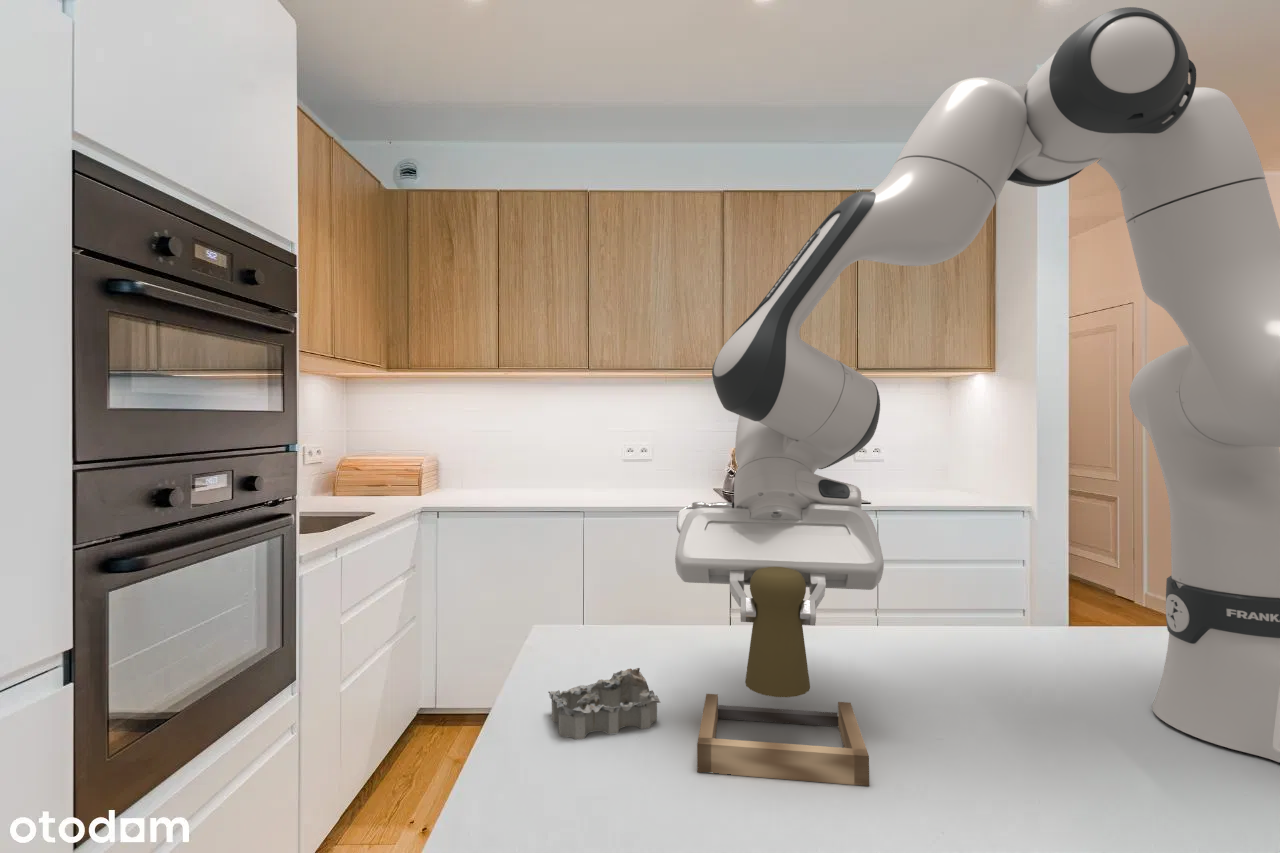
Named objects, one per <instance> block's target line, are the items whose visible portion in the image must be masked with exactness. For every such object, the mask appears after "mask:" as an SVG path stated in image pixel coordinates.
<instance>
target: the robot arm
mask: <svg viewBox="0 0 1280 853" xmlns="http://www.w3.org/2000/svg"><path fill="white" fill-rule="evenodd" d="M1189 81H1190V83H1189ZM1196 85H1197V68H1196V66H1195V64H1194V62H1193V61H1192V59H1191V60H1190V58H1189V54H1188V51H1187V47H1186V45H1185V43H1184V41H1183V39H1182V37H1181V35H1179V33H1178V32H1177V30H1176V29H1175V28H1174V27H1173V26H1172V25H1171V24H1170V23H1169V21H1167V20H1166V19H1165V18H1163V17H1162V16H1161V15H1160V14H1157V12H1156V13H1155V12H1154V11H1151V10H1149V9H1146V8H1142V7H1137V6H1135V7H1134V6H1132V7H1131V6H1130V7H1119V8H1115V9H1112V10H1109V11H1107V12H1105V13H1103V14H1101V15H1099V16H1096V17H1095V18H1093V19H1092V20H1090V21H1088V22H1086V23H1085V24H1084V25H1082V26H1081V27H1079V28H1078V29H1077V30H1075V31H1074V32H1073V33H1071V35H1069V36H1068V37H1067V38H1066V39H1065V40H1064V41H1063V42H1062V43H1061V45H1060V46H1059V47H1058V49H1057V50H1056V51H1055V53H1053V54H1052V55H1051V56H1050V57H1049V58H1048V59H1047V60H1046V61H1044V63H1043V64H1042V65H1041V66H1040V67H1039V68H1037V70H1036V71H1035V72H1034V73H1033V75H1032V76H1031V77H1030V78H1029V80H1028V81H1027V82H1026V83H1025V84H1021V85H1017V86H1015V85H1014V86H1013V85H1009V84H1007V83H1006V82H1004V81H1001V80H999V79H995V78H991V77H984V76H982V77H979V76H978V77H970V78H969V77H968V78H965V79H962V80H960V81H959V80H958V81H957V82H955V83H953V84H952V85H951V86H949V87H948V88H946V90H944V92H942V93H941V94H940V96H939V97H938V98H937V99H936V101H935V102H934V103H933V104H932V106H931V107H930V108H929V109H928V111H927V112H926V113H925V115H924V116H923V118H922V119H921V120H920V122H919V123H918V125H917V126H916V128H915V129H914V131H913V132H912V133H911V135H910V136H909V138H908V140H907V141H906V143H905V145H904V146H903V148H902V150H901V151H900V153H899V155H898V156H897V158H896V160H895V162H894V164H893V166H892V168H891V170H890V171H889V173H888V174H887V175H886V177H885V178H884V179H883V180H882V181H881V182H880V183H879V184H878V185H877V186H876V187H875V188H873V189H872V190H871V191H857V192H854V193H852V194H851V195H849V196H848V197H846V198H845V199H843V200H842V201H841V202H840V203H839V204H838V205H837V206H836V207H835V208H833V210H832V211H831V212H830V213H829V214H828V215H827V216H826V217H825V219H824V220H823V221H822V222H821V223H820V225H819V226H818V227H817V228H816V229H815V231H813V233H812V235H811V236H810V237H809V239H807V241H806V242H805V244H804V245H803V246H802V248H801V249H800V250H799V251H798V253H797V254H796V256H795V257H794V258H793V259H792V261H791V262H790V264H789V265H788V266H786V267H787V268H786V269H785V270H784V272H783V273H782V274H781V275H780V276H779V278H778V279H777V281H776V282H775V284H774V285H773V286H772V287H771V289H770V290H769V291H768V292H767V294H766V295H765V297H763V299H762V301H761V302H760V303H759V304H758V306H757V307H756V308H755V309H754V311H753V312H752V313H751V314H750V315H749V316H748V317H747V318H746V319H745V320H744V321H743V323H742V324H740V326H739V327H738V328H737V329H736V330H735V331H734V332H733V333H732V334H731V336H730V337H729V338H728V340H726V342H725V344H723V346H722V348H721V349H720V351H719V353H718V354H717V356H716V358H715V360H714V363H713V366H712V370H711V376H712V380H713V381H712V382H713V385H714V388H715V391H716V394H717V398H718V399H719V401H720V403H721V406H723V408H724V409H725V410H726V411H728V412H731V413H732V414H733V413H734V414H735V415H737V416H738V420H737V426H736V434H735V447H734V452H735V453H734V456H735V461H736V464H737V469H736V472H735V474H734V480H733V483H734V484H733V502H727V501H724V502H722V501H721V502H719V501H718V502H704V501H694V502H692V503H691V505H687V506H685V507H683V508H682V509H680V510H679V511H678V514H677V518H676V531H677V533H678V534H679V535H678V539H677V544H676V547H675V548H676V550H675V557H674V558H675V559H674V562H675V570H676V571H675V572H676V574H677V575H678V576H679V578H680V579H681V580H682V582H684V583H687V584H688V583H689V584H691V583H692V584H714V585H715V584H719V585H729V593H730V594H731V596H732V597H733V599H734V601H735V603H737V605H738V608H740V622H741V623H753V622H754V620H755V619H756V602H755V601H754V599H753V598H752V597H748V595H747V594H746V592H745V586H750V580H751V577H752V575H753V574H754V572H755V571H757V570H758V569H761V568H766V567H785V568H789V569H793V570H796V571H798V572H799V573H800V574H801V575H802V576H803V578H804V580H805V584H806V588H809V589H808V590H809V595H810V596H809V598H808V599H807V600H806V599H805V600H804V599H803V601H802V602H801V604H800V605H799V607H800V621H801V624H802V626H813V627H814V626H816V622H817V609H818V607H819V605H820V604H821V602H822V600H823V599H824V597H825V594H826V593H825V592H826V589H837V590H838V589H839V590H840V589H841V590H864V591H865V590H867V591H871V590H874V589H875V588H876V587H877V586H878V584H880V582H881V580H882V577H883V573H884V567H885V566H884V556H883V552H882V546H881V543H880V540H879V536H878V533H877V529H876V527H875V525H874V522H873V520H872V518H871V516H870V515H869V514H868V513H867V512H866V511H865V510H864V509H862V503H863V502H862V492H861V489H860V487H858V486H857V485H854V484H851V483H847V482H843V481H839V480H836V479H831V478H828V477H825V476H822V475H819V474H816V471H817V470H823V469H826V468H829V467H832V466H833V465H836V464H837V463H840V462H841V461H843V460H845V459H847V458H850V457H851V456H853V455H855V454H856V453H858V452H859V451H861V450H862V449H863V448H865V447H866V445H867V444H868V443H870V441H871V440H872V439H873V437H874V435H875V432H876V430H877V428H878V423H879V419H880V411H881V400H880V399H881V398H880V392H879V390H878V386H877V385H876V383H875V382H874V381H873V380H871V379H870V378H868V377H867V376H865V375H863V374H862V373H860V372H859V371H857V370H855V369H854V368H852V367H850V366H848V365H847V364H845V363H843V362H842V361H840V360H838V359H834V358H833V357H831V356H830V355H827V353H824V352H823V351H821V350H819V349H817V348H815V347H814V346H813V345H810V344H809V343H807V342H806V341H804V340H803V339H802V338H801V337H800V336H801V335H800V330H801V327H802V325H803V324H804V323H805V321H806V320H807V319H808V317H809V316H810V315H811V313H812V312H813V311H814V310H815V308H816V306H817V305H818V304H819V303H820V302H821V300H822V298H823V297H824V296H825V294H827V292H828V290H829V289H830V288H831V286H832V285H833V284H834V283H835V281H836V280H837V278H838V277H840V276H841V275H840V274H842V273H843V271H844V270H845V269H846V268H848V267H849V266H851V265H852V264H854V263H855V262H858V261H870V262H876V263H881V264H887V265H893V266H894V265H895V266H902V267H903V266H905V267H925V266H932V265H937V264H940V263H944V262H945V261H948V260H952V258H955V257H956V256H958V255H959V254H961V253H963V252H964V251H965V250H966V249H967V248H968V247H969V246H970V245H971V244H972V243H973V241H974V240H975V239H976V237H977V236H978V234H979V233H980V232H981V230H982V229H983V228H984V227H983V226H984V225H985V223H986V221H987V220H988V218H989V215H990V214H991V212H992V209H993V208H994V206H995V204H996V203H997V201H998V198H999V197H1000V195H1001V193H1002V191H1003V188H1004V186H1005V184H1006V183H1007V181H1009V182H1011V183H1014V184H1017V185H1020V186H1025V187H1032V188H1037V187H1038V188H1039V187H1048V186H1049V187H1050V186H1053V185H1057V184H1060V183H1062V182H1065V181H1068V180H1069V179H1071V178H1073V177H1076V176H1077V175H1078V174H1079V173H1080V172H1082V171H1083V170H1084V169H1086V168H1088V167H1089V166H1091V165H1093V164H1094V163H1095V162H1096V163H1097V165H1099V166H1100V167H1101V168H1102V169H1104V170H1105V172H1107V173H1108V175H1109V176H1110V177H1111V178H1112V179H1113V181H1114V183H1115V184H1116V186H1117V190H1118V191H1119V192H1120V198H1121V206H1122V211H1123V214H1124V219H1125V224H1126V227H1127V230H1128V234H1129V239H1130V243H1131V247H1132V251H1133V255H1134V259H1135V263H1136V267H1137V269H1138V270H1137V271H1138V275H1139V278H1140V283H1141V287H1142V290H1143V292H1144V294H1145V295H1146V296H1147V298H1148V299H1149V300H1150V301H1151V302H1153V303H1154V304H1156V305H1158V306H1160V307H1161V308H1163V310H1165V312H1167V313H1168V314H1169V316H1170V317H1171V319H1172V320H1173V321H1174V322H1175V324H1176V326H1178V328H1179V330H1180V332H1181V334H1182V335H1183V336H1184V338H1185V340H1186V342H1187V343H1188V344H1186V345H1181V346H1178V347H1175V348H1173V349H1171V350H1169V351H1166V352H1165V353H1163V354H1161V355H1159V356H1158V357H1155V359H1153V360H1151V361H1149V362H1148V363H1146V364H1145V365H1144V366H1143V367H1141V368H1140V369H1139V371H1138V372H1137V373H1136V374H1135V376H1134V377H1133V379H1132V381H1131V384H1130V387H1129V395H1128V397H1129V405H1130V408H1131V410H1132V413H1133V415H1134V417H1135V418H1136V419H1137V421H1138V422H1139V423H1140V424H1141V425H1142V426H1143V427H1144V429H1146V431H1147V433H1148V435H1149V436H1150V439H1151V442H1152V445H1153V448H1154V450H1155V454H1156V456H1157V460H1158V463H1159V466H1160V469H1161V474H1162V477H1163V480H1164V484H1165V488H1166V492H1167V493H1166V494H1167V497H1168V498H1167V499H1168V506H1169V513H1170V515H1169V517H1170V518H1169V519H1170V521H1169V522H1170V551H1171V552H1170V553H1171V554H1170V556H1171V559H1170V561H1171V562H1170V563H1171V575H1169V576H1168V577H1167V578H1166V584H1165V586H1166V588H1165V620H1166V621H1165V622H1166V628H1167V629H1166V630H1167V632H1168V642H1167V649H1166V656H1165V661H1164V666H1163V671H1162V676H1161V680H1160V684H1159V688H1158V690H1157V693H1156V696H1155V699H1154V701H1153V703H1152V705H1151V709H1152V712H1153V714H1154V715H1155V716H1157V717H1158V718H1159V719H1160V720H1162V721H1163V722H1165V723H1166V724H1167V725H1169V726H1171V727H1173V728H1175V729H1176V730H1178V731H1181V732H1183V733H1185V734H1187V735H1189V736H1192V737H1195V738H1198V739H1200V740H1202V741H1205V742H1208V743H1211V744H1214V745H1218V746H1220V747H1225V748H1228V749H1231V750H1235V751H1239V752H1243V753H1246V754H1250V755H1254V756H1257V757H1258V756H1259V757H1262V758H1265V759H1269V760H1271V761H1274V762H1277V763H1280V226H1279V222H1278V219H1277V216H1276V212H1275V209H1274V205H1273V202H1272V198H1271V194H1270V191H1269V188H1268V183H1267V180H1266V175H1265V172H1264V169H1263V165H1262V162H1261V159H1260V157H1259V154H1258V151H1257V148H1256V145H1255V143H1254V141H1253V138H1252V136H1251V134H1250V131H1249V129H1248V128H1247V125H1246V123H1245V122H1244V119H1243V118H1242V116H1241V114H1240V113H1239V110H1238V109H1237V107H1236V106H1235V105H1234V103H1233V101H1232V99H1231V98H1230V97H1229V96H1228V95H1227V94H1226V93H1224V92H1223V91H1221V90H1219V89H1216V88H1213V87H1212V88H1211V87H1205V86H1204V87H1202V86H1201V87H1199V86H1198V87H1197V86H1196Z"/></svg>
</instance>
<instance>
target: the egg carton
mask: <svg viewBox="0 0 1280 853" xmlns="http://www.w3.org/2000/svg"><path fill="white" fill-rule="evenodd" d="M640 669H641V668H640V667H636V668H633V669H632V668H627V669H625V670H619V671H617V672H615V673H614V672H613V675H612V676H611V678H610V679H598V680H597V682H595V683H591V684H587V685H583V684H582V685H581V684H580V685H577V686H574V687H572V688H569V689H568V690H562V691H561V692H560V690H559V689H558V690H556V691H555V690H554V691H552V690H551V691H548V693H549V695H548V696H549V698H550V699H551V721H552V722H553V723H558V731H557V732H558V734H559V736H560V737H570V738H573V740H582V739H586V736H587V734H590V733H592V732H604V733H606V734H608V735H615V734H618V733H619V730H620V729H621V728H625V727H630V726H631V727H635V728H636V727H637V728H639V729H641V730H644V729H650V728H651V727H652V726H651V724H653V723H654V722H657V720H658V704H660V703H661V701H660V699H659V696H658V694H657V695H656V694H655V692H654V690H653V689H651V690H650V689H649V685H648V683H647V680H646V678H645V677H644V676H643V674H642V672H641V671H640Z"/></svg>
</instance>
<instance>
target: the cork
mask: <svg viewBox="0 0 1280 853" xmlns="http://www.w3.org/2000/svg"><path fill="white" fill-rule="evenodd" d="M749 591H750V595H751V598H753V599H754V601H755V602H756V619H755V620H754V622H752V628H751V634H750V637H751V638H750V643H749V651H748V657H747V658H748V659H747V666H746V673H745V681H744V683H745V686H746V687H747V688H748V689H749V690H750V691H753V692H754V693H757V694H759V695H763V696H768V697H773V698H792V697H793V698H794V697H795V698H796V697H800V696H802V695H805V694H807V693H808V692H809V691H810V689H811V682H810V675H809V666H808V657H807V652H806V643H805V638H804V637H805V636H804V630H803V625H802V624H801V621H800V607H799V605H800V604H801V602H802V601H803V600H804V599H805V596H806V592H807V587H806V584H805V580H804V578H803V576H802V575H801V574H800V573H799V572H798V571H796V570H793V569H789V568H785V567H766V568H761V569H758V570H757V571H755V572H754V574H753V575H752V577H751V580H750V585H749Z"/></svg>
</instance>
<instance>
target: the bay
mask: <svg viewBox="0 0 1280 853" xmlns="http://www.w3.org/2000/svg"><path fill="white" fill-rule="evenodd" d="M704 698H705V699H704V703H703V704H704V705H703V708H702V709H703V710H702V714H701V720H700V727H699V732H698V737H697V743H696V746H697V748H696V752H697V755H696V756H697V757H696V758H697V760H696V762H697V763H696V764H697V765H696V767H697V769H696V771H697V773H702V772H713V773H712V774H714V773H719V774H718V775H727V774H731V775H730V776H742V777H751V778H752V777H754V778H767V779H775V780H776V779H779V780H789V781H802V782H816V783H817V782H818V783H826V784H827V783H828V784H839V785H851V786H864V787H870V754H869V752H868V749H867V747H866V742H865V740H864V737H863V734H862V732H861V728H860V726H859V724H858V720H857V717H856V715H855V711H854V708H853V706H852V704H851V702H845V701H838V702H837V709H838V710H837V712H833V711H832V712H831V711H821V710H820V711H819V710H818V711H817V710H803V709H788V708H787V709H785V708H770V707H768V708H767V707H756V706H755V707H754V706H743V705H742V706H741V705H723V704H719V694H718V693H717V694H716V693H706V694H705V697H704ZM719 719H721V720H731V721H732V720H733V721H734V720H735V721H749V722H762V723H763V722H764V723H777V724H778V723H779V724H793V725H794V724H795V725H805V726H807V725H808V726H820V727H821V726H823V727H824V726H825V727H838V728H837V729H838V731H839V735H840V738H841V741H842V742H841V743H842V745H843V747H840V746H839V747H837V746H825V745H807V744H798V743H797V744H795V743H782V742H768V741H767V742H766V741H755V740H754V741H752V740H739V739H729V738H727V739H726V738H716V737H717V730H718V722H719Z"/></svg>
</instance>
